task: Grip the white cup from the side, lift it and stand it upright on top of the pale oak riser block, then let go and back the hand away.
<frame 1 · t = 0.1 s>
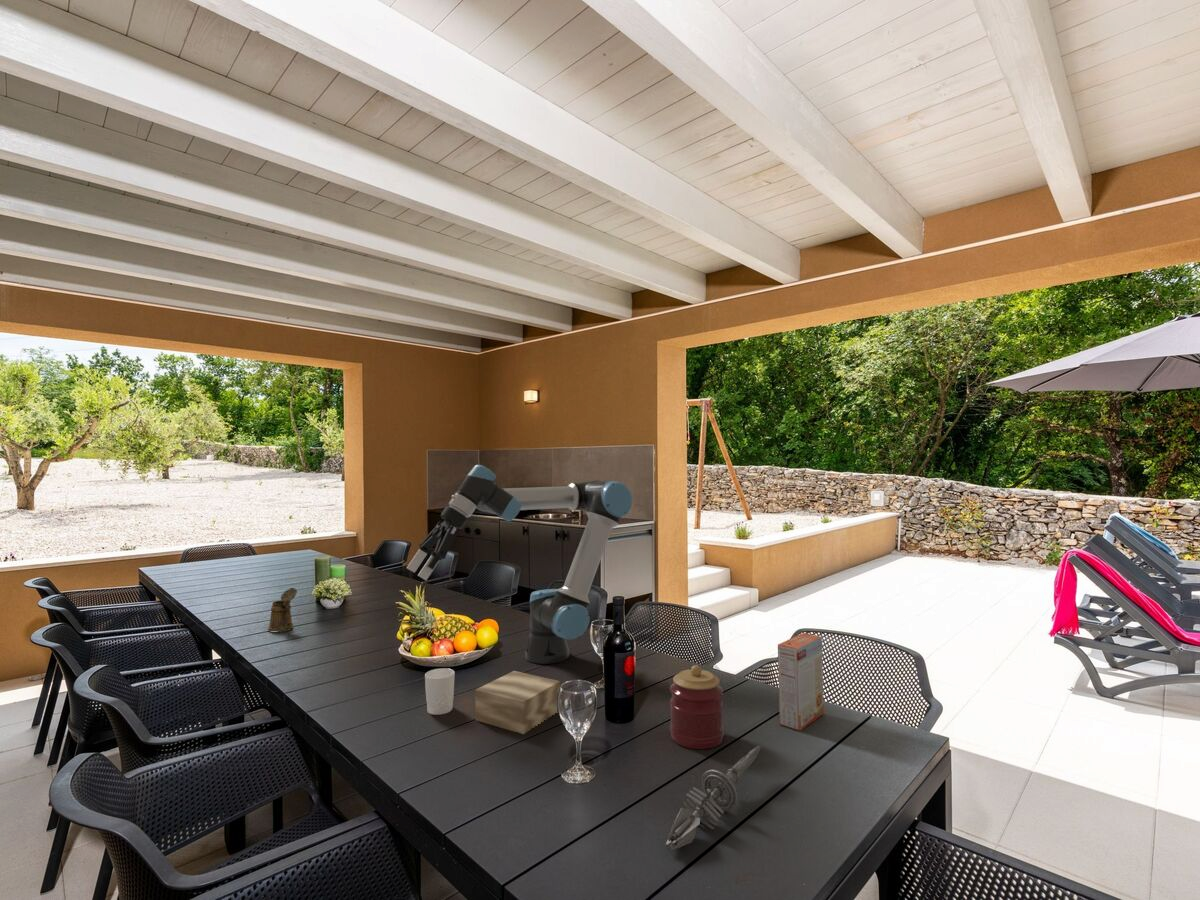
hand: (415, 574, 171), 36 cm above the table, fingers open, 13 cm apart
canister: (696, 738, 146), on the table
cracker box: (801, 720, 155), on the table
white cup: (439, 710, 163), on the table
wooden mug: (283, 630, 240), on the table
riser block: (518, 715, 159), on the table
spaceship: (719, 811, 116), on the table
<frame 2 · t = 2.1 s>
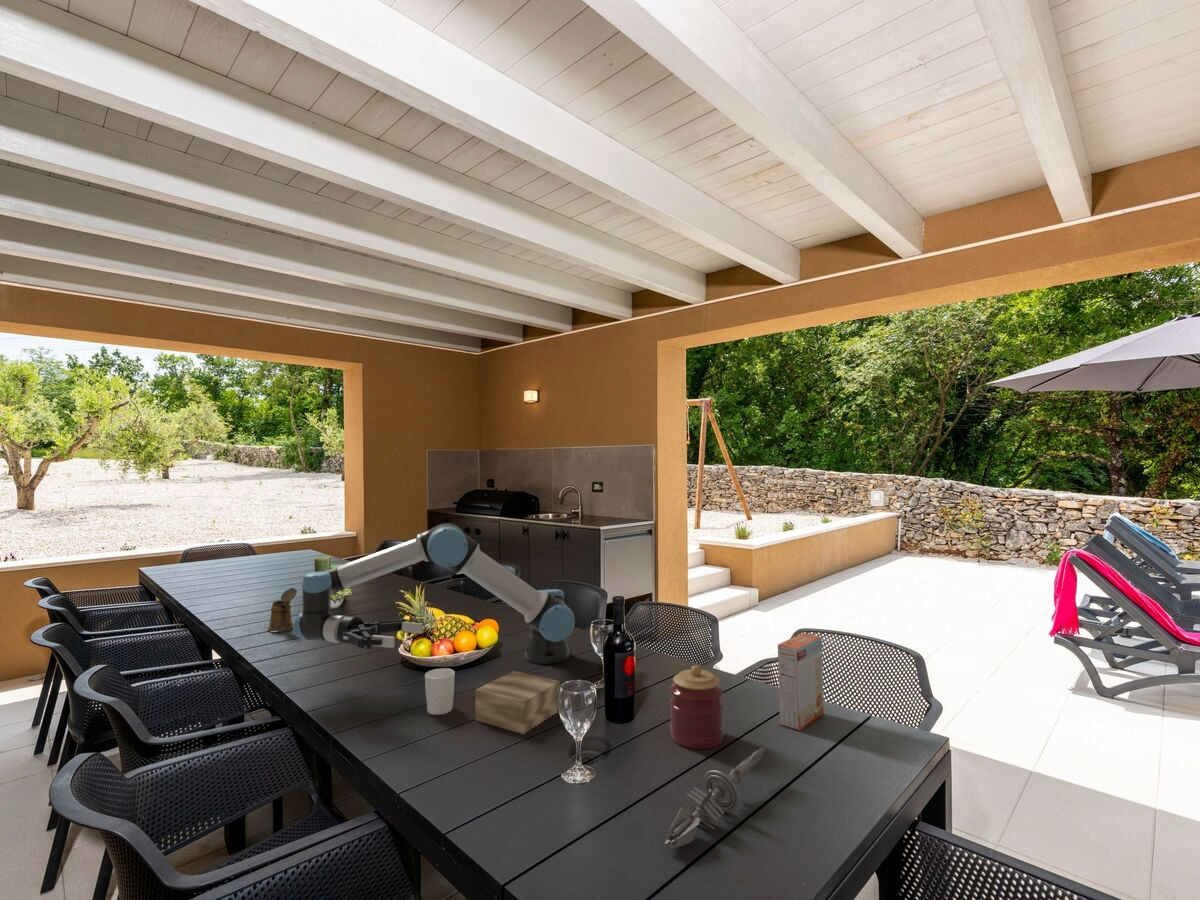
hand: (408, 635, 166), 20 cm above the table, fingers open, 13 cm apart
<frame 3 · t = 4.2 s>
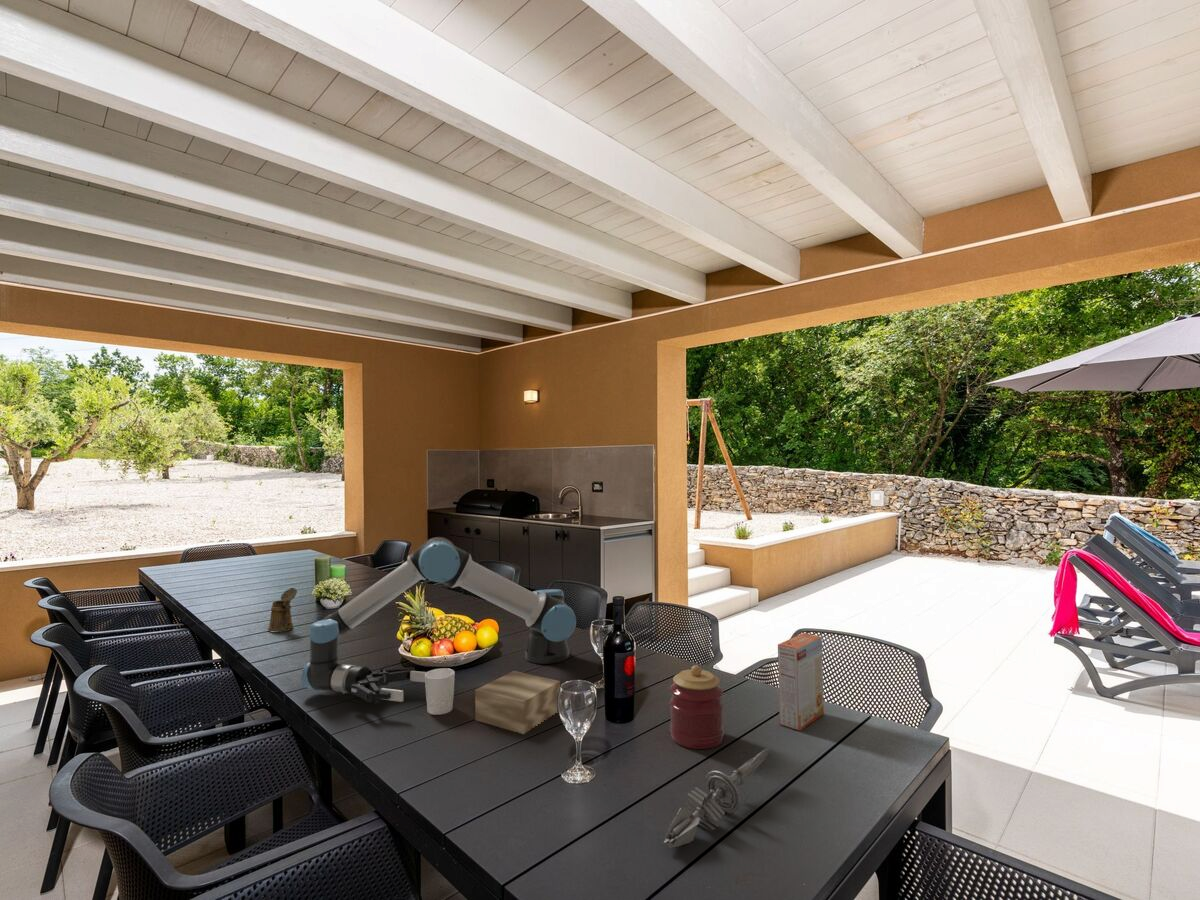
hand: (417, 686, 165), 6 cm above the table, fingers open, 13 cm apart
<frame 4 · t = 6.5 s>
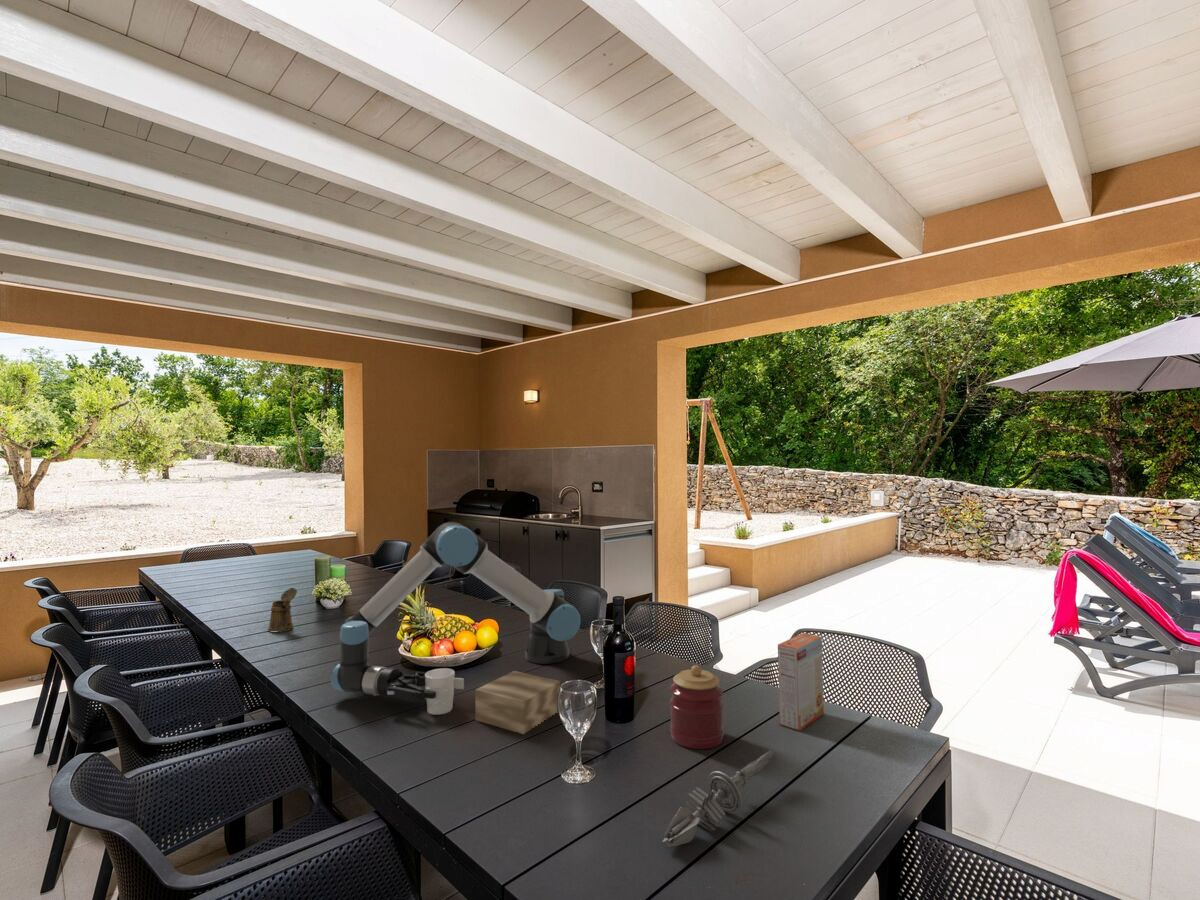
hand: (455, 689, 162), 6 cm above the table, fingers closed on white cup, 8 cm apart
white cup: (439, 710, 163), on the table, touching gripper
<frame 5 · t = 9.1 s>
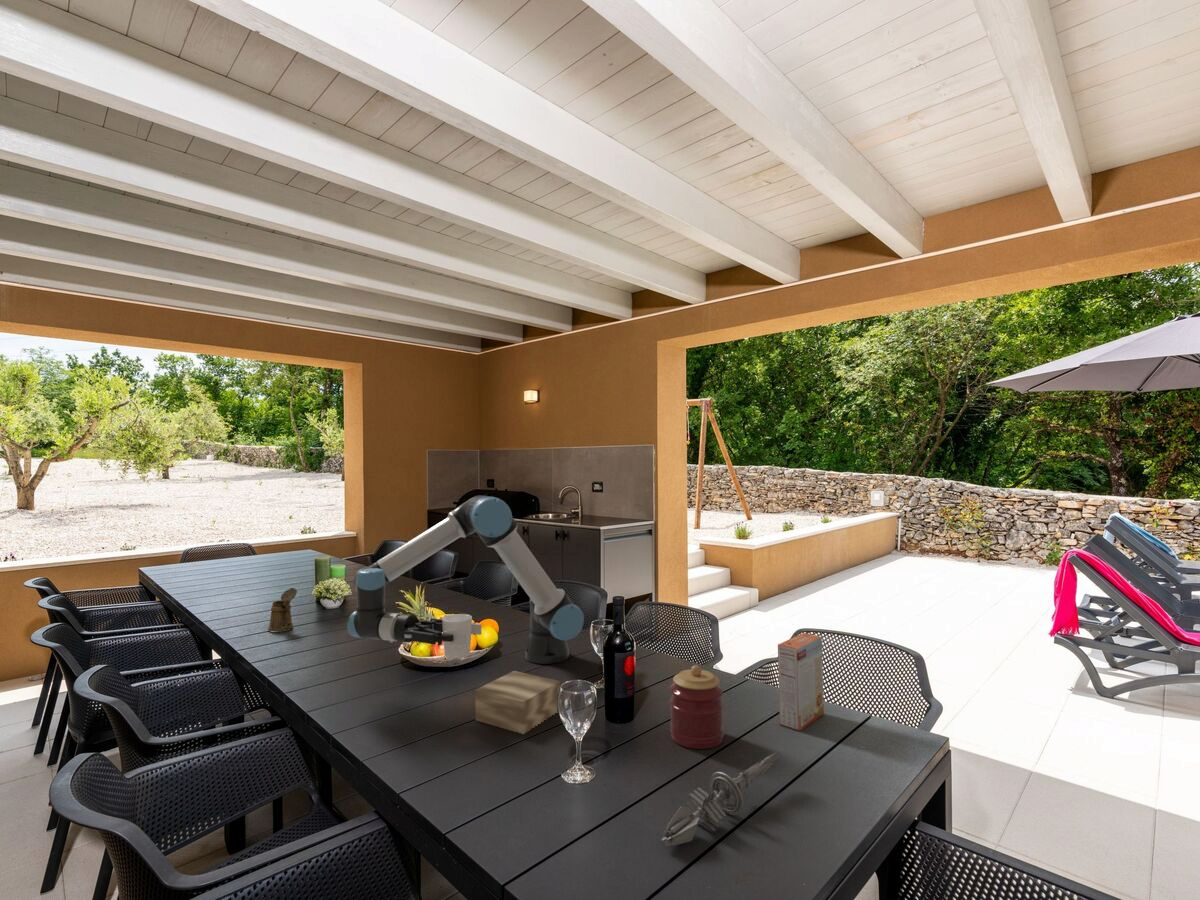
hand: (473, 633, 160), 22 cm above the table, fingers closed on white cup, 8 cm apart
white cup: (457, 655, 161), point 16 cm above the table, touching gripper
when the fingers open (15 cm above the table, at t = 11.7 s): white cup drops 1 cm, resting on riser block.
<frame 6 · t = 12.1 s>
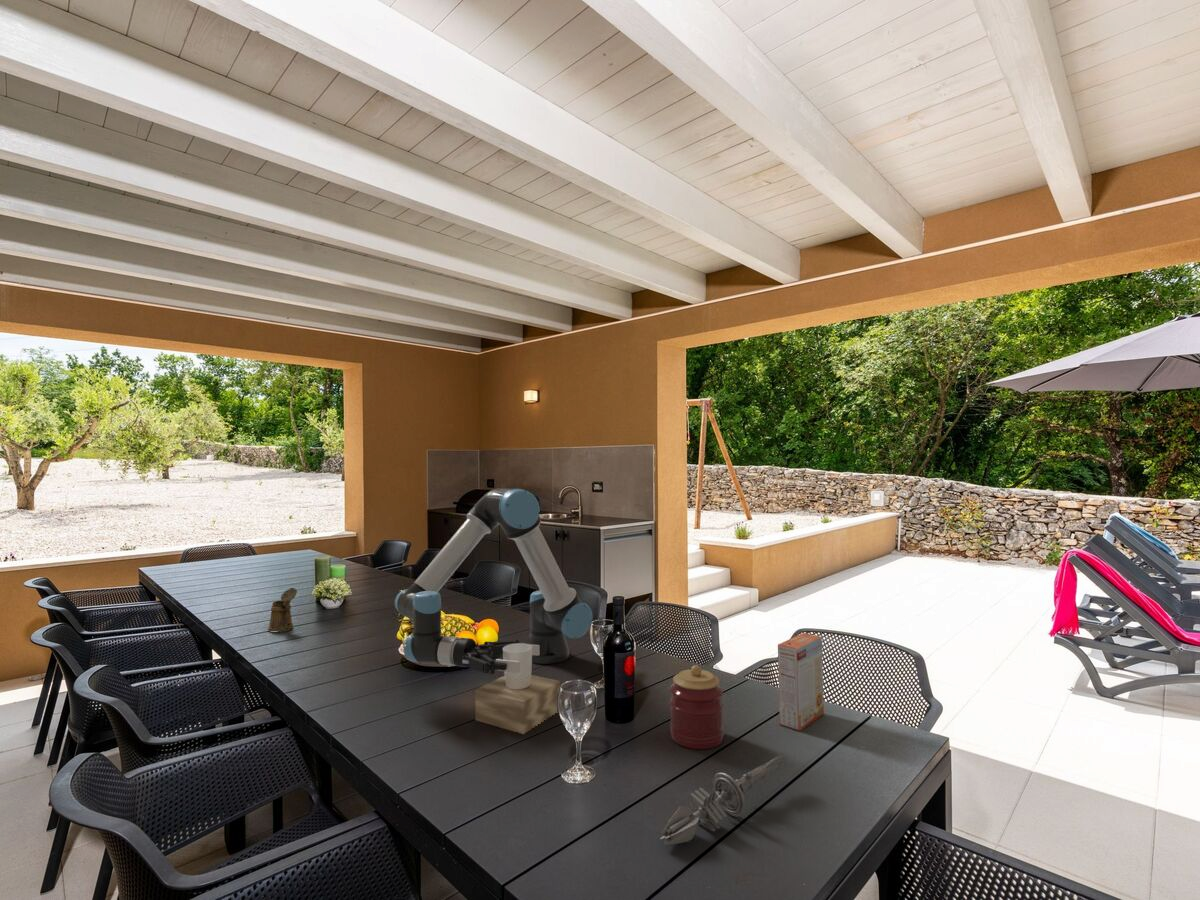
hand: (529, 658, 158), 15 cm above the table, fingers open, 13 cm apart
white cup: (518, 685, 159), point 8 cm above the table, touching riser block
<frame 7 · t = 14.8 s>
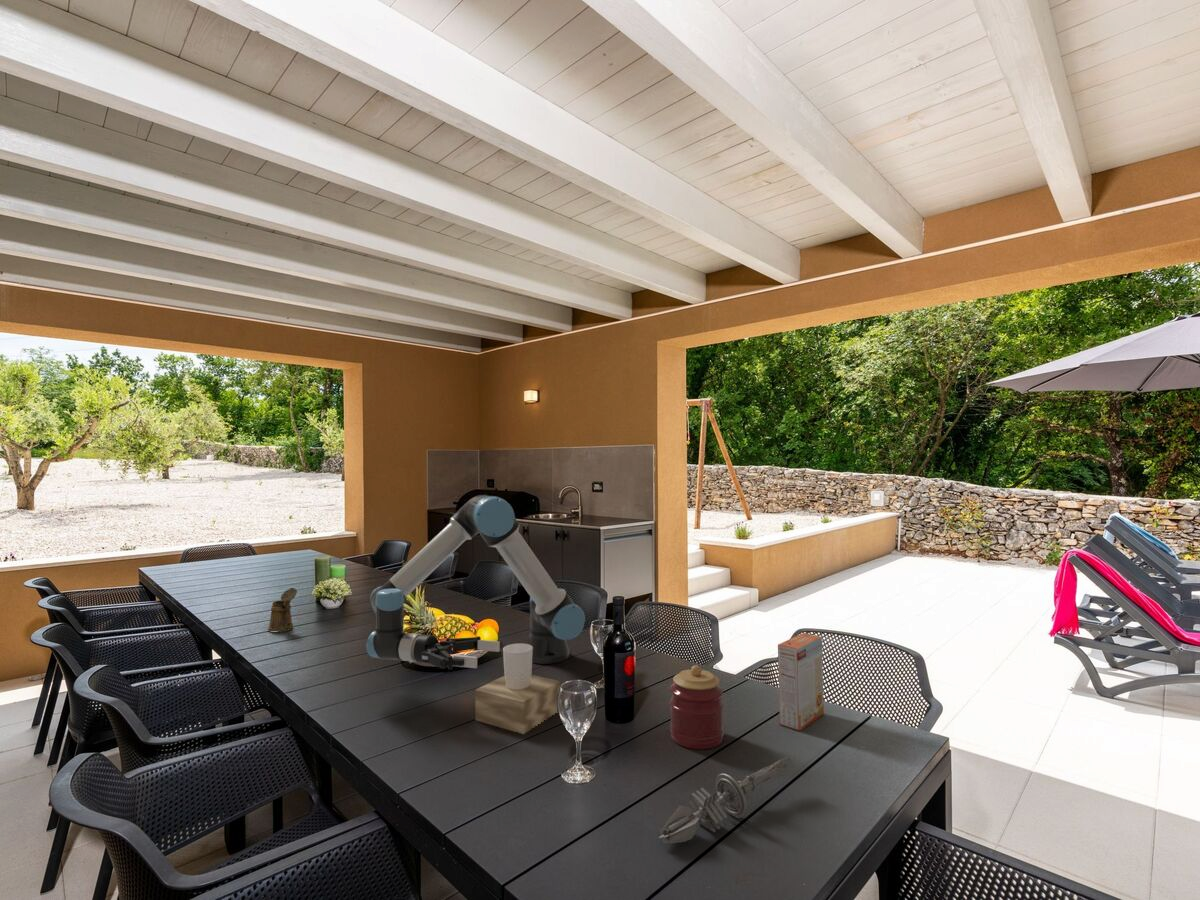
hand: (488, 654, 162), 16 cm above the table, fingers open, 13 cm apart
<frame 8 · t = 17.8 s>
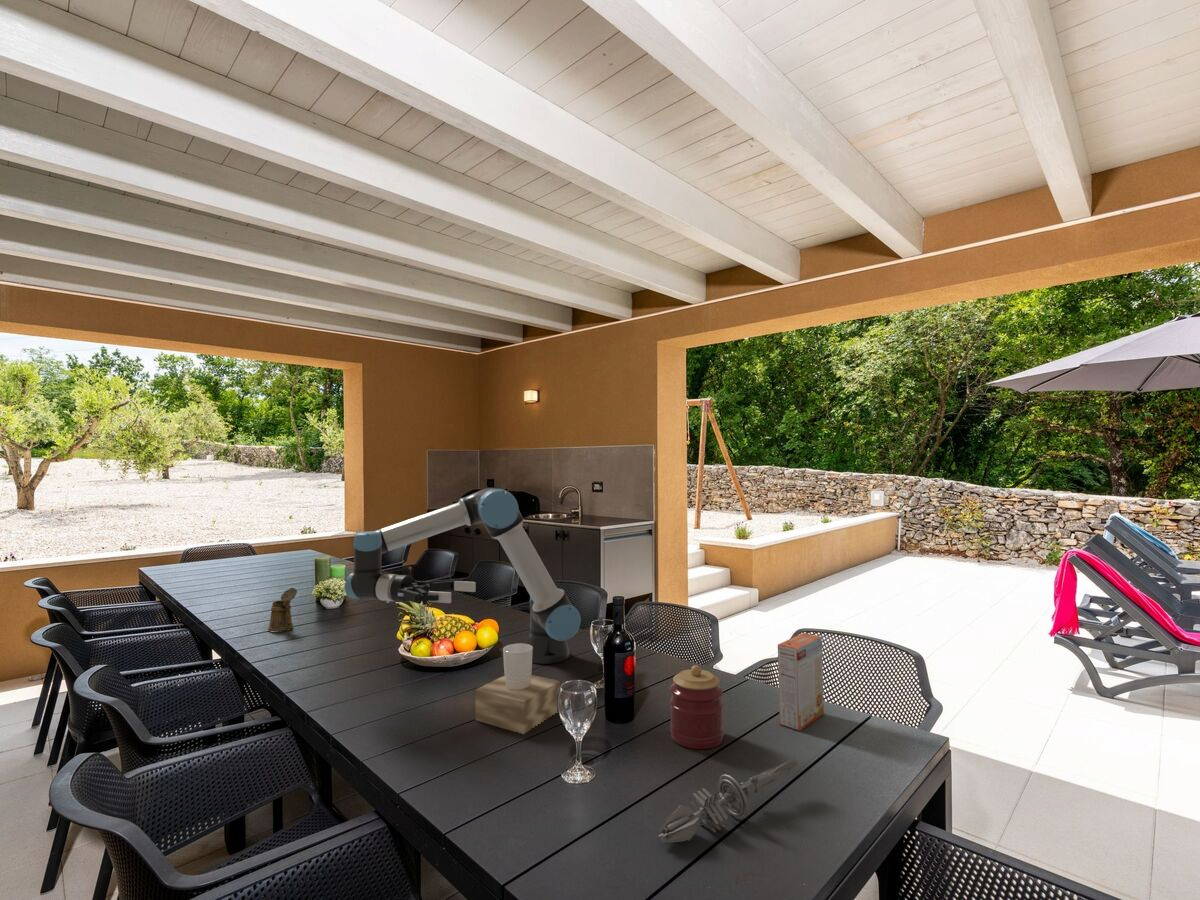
hand: (463, 592, 164), 32 cm above the table, fingers open, 13 cm apart
at the end: white cup inside the target area on the riser block (0.1 cm from its centre), point 7.8 cm above the riser block's base; white cup tilted 0°; the gripper is holding nothing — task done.
